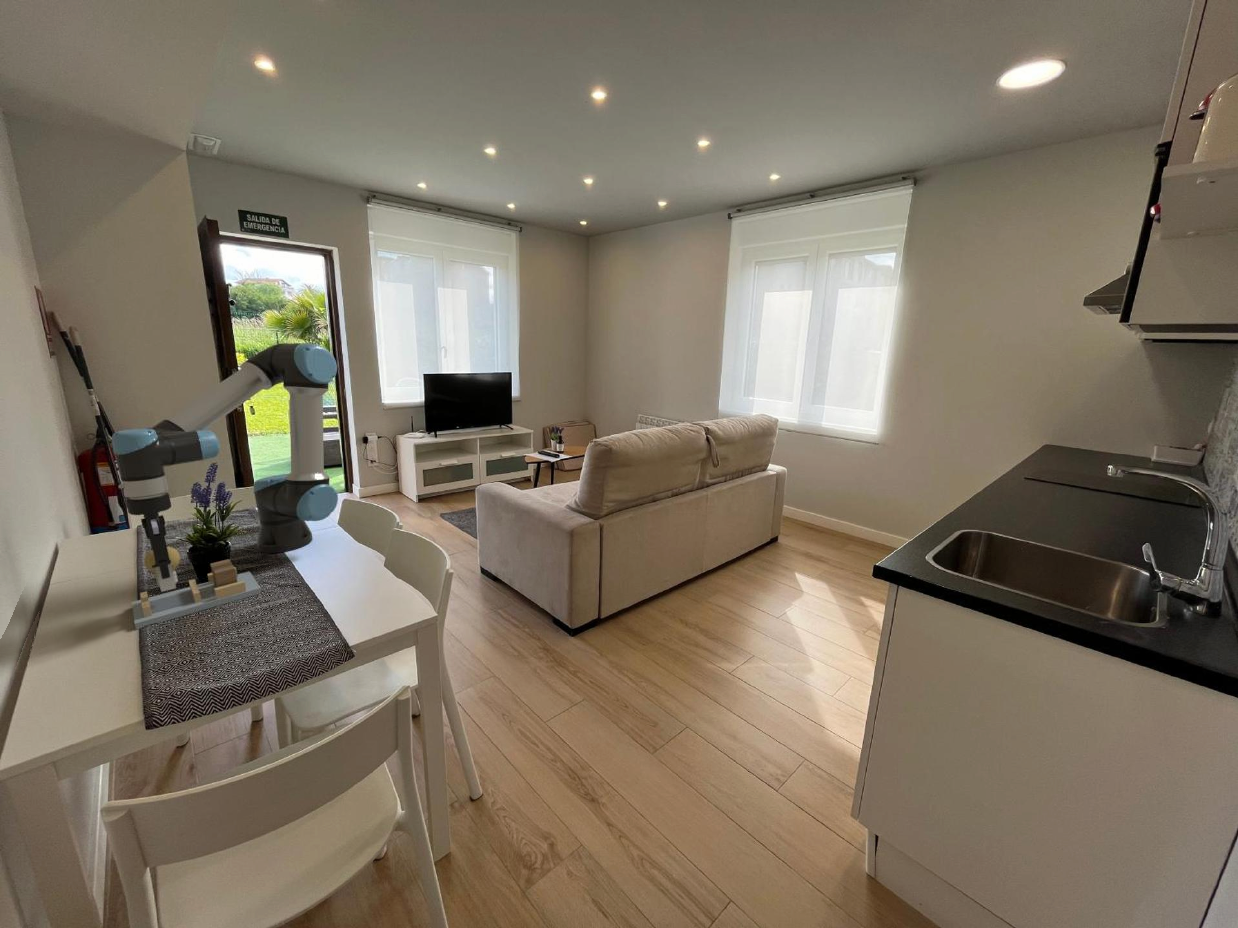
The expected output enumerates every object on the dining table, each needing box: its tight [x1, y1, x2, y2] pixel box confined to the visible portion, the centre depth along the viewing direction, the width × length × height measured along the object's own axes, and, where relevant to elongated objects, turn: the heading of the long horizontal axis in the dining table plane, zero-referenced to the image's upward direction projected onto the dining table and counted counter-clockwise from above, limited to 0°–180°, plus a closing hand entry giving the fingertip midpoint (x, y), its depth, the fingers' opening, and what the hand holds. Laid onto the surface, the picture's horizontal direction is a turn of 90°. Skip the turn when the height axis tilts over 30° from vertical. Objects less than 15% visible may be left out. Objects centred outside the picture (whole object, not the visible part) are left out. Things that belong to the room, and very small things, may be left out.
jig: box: [131, 566, 262, 630], centre depth 126 cm, size 14×24×4 cm, turn 136°
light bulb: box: [144, 546, 181, 588], centre depth 120 cm, size 6×6×10 cm
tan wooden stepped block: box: [210, 558, 237, 588], centre depth 129 cm, size 8×4×6 cm, turn 46°
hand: (167, 584), depth 121 cm, fingers closed on light bulb, 6 cm apart
